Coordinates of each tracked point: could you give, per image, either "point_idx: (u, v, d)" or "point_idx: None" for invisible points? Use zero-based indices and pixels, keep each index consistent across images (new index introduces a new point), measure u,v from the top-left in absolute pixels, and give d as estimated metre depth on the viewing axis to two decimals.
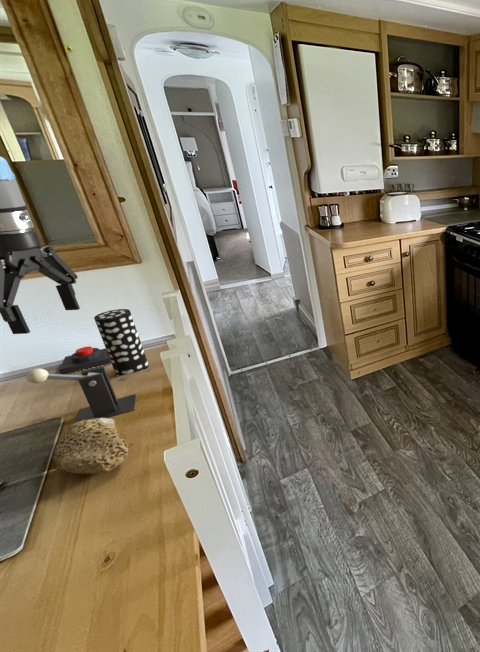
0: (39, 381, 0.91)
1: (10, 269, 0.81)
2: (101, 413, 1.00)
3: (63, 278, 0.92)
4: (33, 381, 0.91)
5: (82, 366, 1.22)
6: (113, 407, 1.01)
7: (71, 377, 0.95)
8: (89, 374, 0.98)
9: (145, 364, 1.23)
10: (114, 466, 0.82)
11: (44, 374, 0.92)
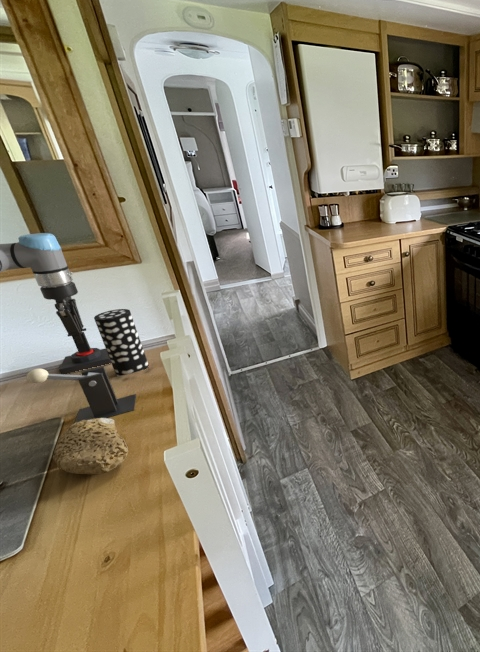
0: (39, 381, 0.91)
1: None
2: (101, 413, 1.00)
3: (80, 324, 1.23)
4: (33, 381, 0.91)
5: (82, 366, 1.22)
6: (113, 407, 1.01)
7: (71, 377, 0.95)
8: (89, 374, 0.98)
9: (145, 364, 1.23)
10: (114, 466, 0.82)
11: (44, 374, 0.92)
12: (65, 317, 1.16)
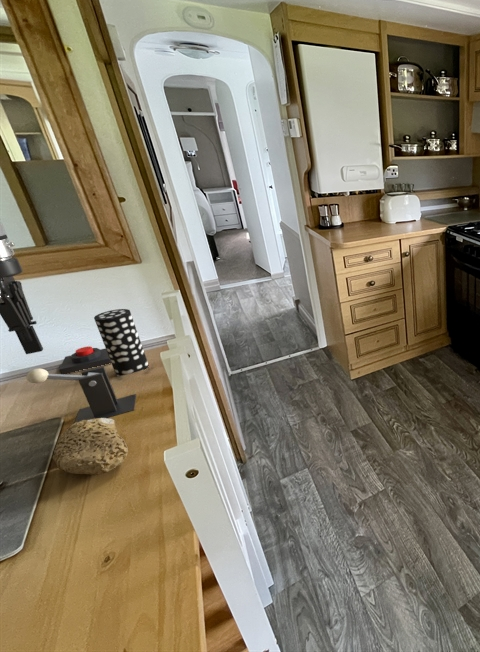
0: (39, 381, 0.91)
1: None
2: (101, 413, 1.00)
3: (27, 315, 0.91)
4: (33, 381, 0.91)
5: (82, 366, 1.22)
6: (113, 407, 1.01)
7: (71, 377, 0.95)
8: (89, 374, 0.98)
9: (145, 364, 1.23)
10: (113, 466, 0.82)
11: (44, 374, 0.92)
12: (3, 305, 0.84)
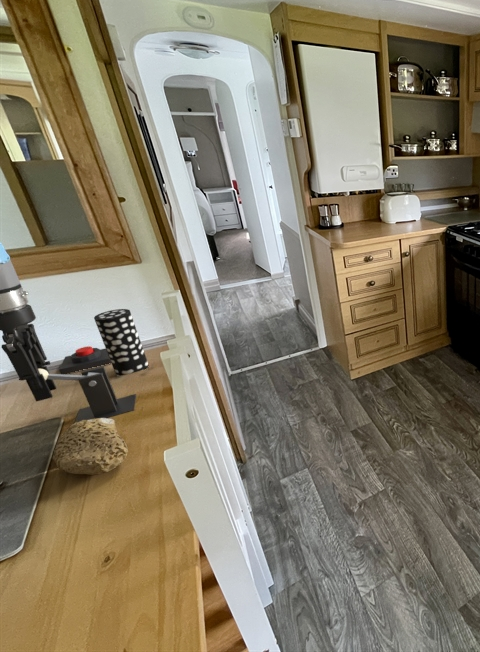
0: None
1: None
2: (101, 413, 1.00)
3: (41, 357, 0.93)
4: None
5: (82, 366, 1.22)
6: (113, 407, 1.01)
7: (71, 377, 0.95)
8: (89, 374, 0.98)
9: (145, 364, 1.23)
10: (113, 467, 0.82)
11: (44, 374, 0.92)
12: (15, 353, 0.84)
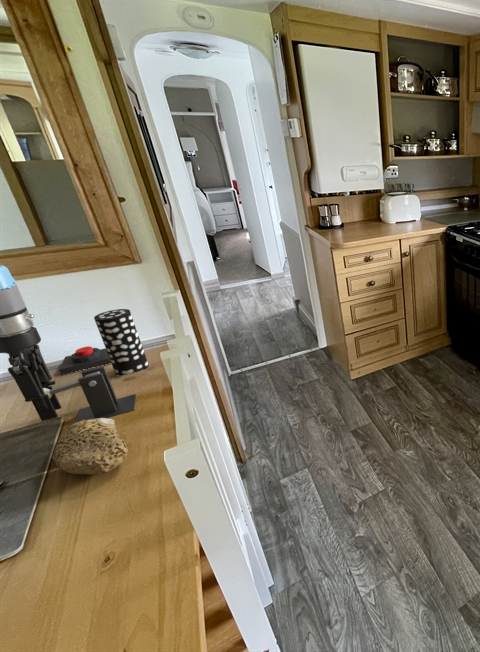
0: None
1: None
2: (101, 413, 1.00)
3: (46, 378, 0.95)
4: None
5: (82, 366, 1.22)
6: (113, 407, 1.01)
7: (71, 385, 0.96)
8: None
9: (145, 364, 1.23)
10: (113, 467, 0.82)
11: None
12: (21, 375, 0.86)
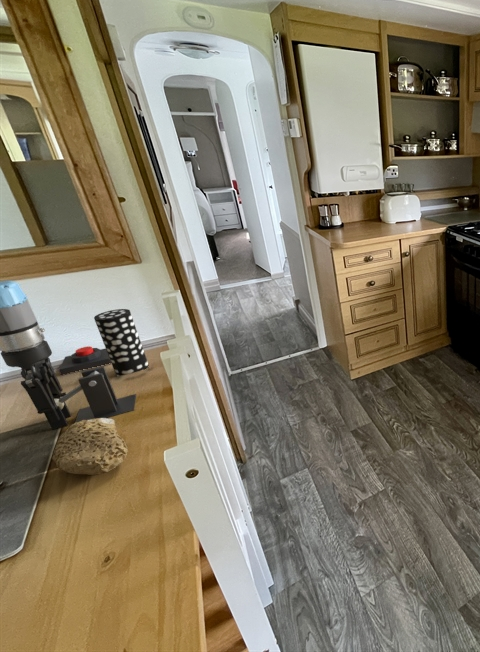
0: None
1: None
2: (101, 413, 1.00)
3: (57, 389, 0.97)
4: None
5: (82, 366, 1.22)
6: (113, 407, 1.01)
7: (76, 390, 0.97)
8: None
9: (145, 364, 1.23)
10: (113, 467, 0.82)
11: None
12: (33, 388, 0.88)
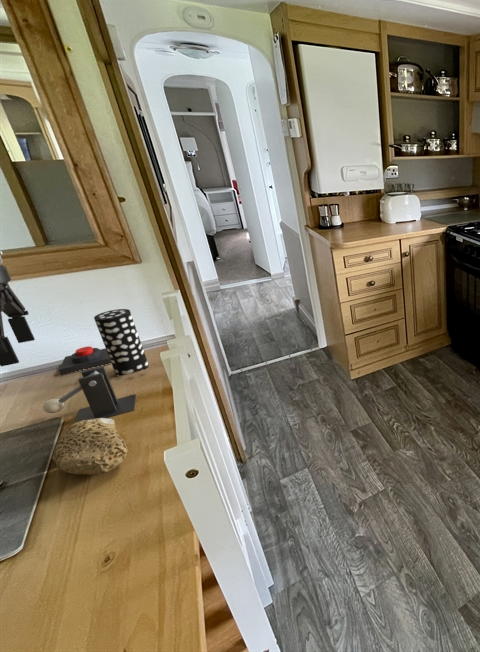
0: (58, 408, 0.95)
1: None
2: (101, 413, 1.00)
3: (19, 310, 0.93)
4: (53, 411, 0.95)
5: (82, 366, 1.22)
6: (113, 407, 1.01)
7: (76, 390, 0.97)
8: None
9: (145, 364, 1.23)
10: (113, 467, 0.82)
11: (53, 402, 0.95)
12: None
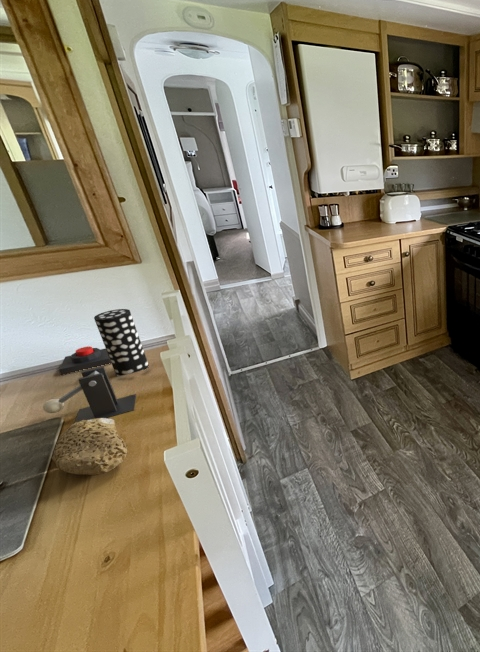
0: (58, 408, 0.95)
1: None
2: (101, 413, 1.00)
3: None
4: (53, 411, 0.95)
5: (82, 366, 1.22)
6: (113, 407, 1.01)
7: (76, 390, 0.97)
8: None
9: (145, 364, 1.23)
10: (112, 467, 0.82)
11: (53, 402, 0.95)
12: None
